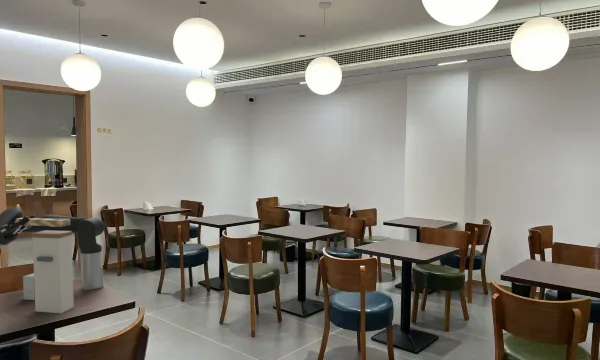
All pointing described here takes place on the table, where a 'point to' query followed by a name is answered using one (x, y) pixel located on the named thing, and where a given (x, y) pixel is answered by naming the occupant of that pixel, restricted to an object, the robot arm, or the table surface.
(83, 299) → the table surface
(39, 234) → the white tall carton
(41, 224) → the tan wooden plank
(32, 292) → the small box
